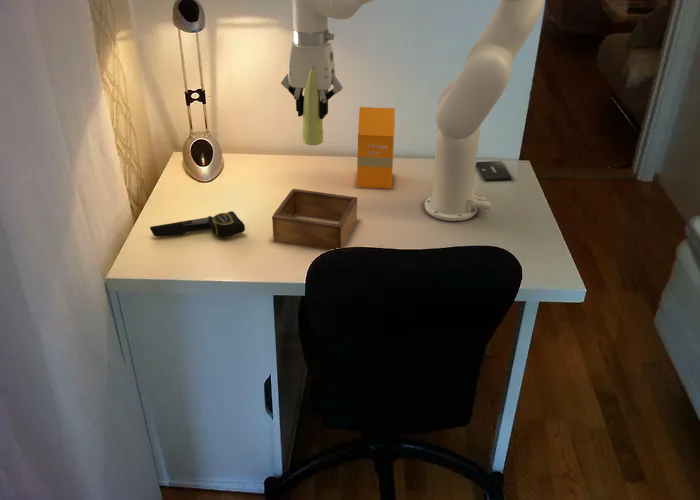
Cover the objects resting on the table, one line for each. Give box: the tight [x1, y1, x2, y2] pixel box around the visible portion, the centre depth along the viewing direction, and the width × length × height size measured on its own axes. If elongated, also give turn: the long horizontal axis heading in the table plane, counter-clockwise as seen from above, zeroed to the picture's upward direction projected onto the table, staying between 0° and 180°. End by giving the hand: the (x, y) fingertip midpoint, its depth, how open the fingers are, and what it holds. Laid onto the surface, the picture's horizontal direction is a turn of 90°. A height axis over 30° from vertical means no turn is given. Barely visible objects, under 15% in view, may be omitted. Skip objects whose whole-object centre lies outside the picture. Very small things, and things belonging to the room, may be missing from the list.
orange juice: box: [356, 106, 396, 190], centre depth 174 cm, size 8×9×20 cm
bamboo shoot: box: [301, 69, 324, 146], centre depth 161 cm, size 6×5×20 cm
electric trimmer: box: [149, 215, 214, 237], centre depth 157 cm, size 4×16×3 cm, turn 108°
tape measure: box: [210, 210, 246, 238], centre depth 156 cm, size 7×7×4 cm
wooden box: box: [271, 188, 358, 251], centre depth 157 cm, size 16×14×6 cm
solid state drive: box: [476, 160, 513, 182], centre depth 185 cm, size 7×10×1 cm
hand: (312, 114), depth 162 cm, fingers closed on bamboo shoot, 4 cm apart
